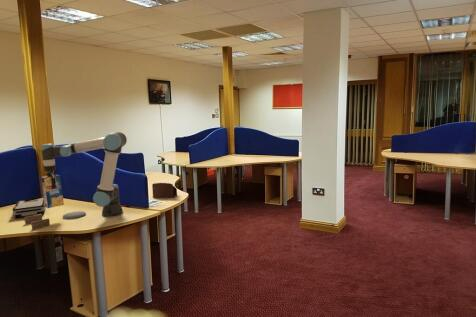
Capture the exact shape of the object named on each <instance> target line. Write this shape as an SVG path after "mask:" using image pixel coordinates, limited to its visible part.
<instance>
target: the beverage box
mask: <svg viewBox="0 0 476 317" xmlns="http://www.w3.org/2000/svg"><path fill="white" fill-rule="evenodd" d="M54 175H55V181H56V188H52V183H51V177H47V176H46V175H45V176H41V177H40V179H41V186H42V194H43V198H44V203H45V207H46V208H47V209H50V208H56V207H60V206H64V205H65V203H64V196H63V188H62V178H61V175H59V174H54Z"/></svg>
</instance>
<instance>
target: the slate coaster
mask: <svg viewBox="0 0 476 317" xmlns="http://www.w3.org/2000/svg"><path fill="white" fill-rule="evenodd" d="M86 215H87V213H86V212H85V211H81V210H80V211H72V212H68V213H65V214H63V215H62V219H64V220H73V219H74V220H76V219H80V218H83V217H85V216H86Z"/></svg>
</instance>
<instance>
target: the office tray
mask: <svg viewBox="0 0 476 317" xmlns="http://www.w3.org/2000/svg"><path fill="white" fill-rule="evenodd" d="M46 208H47V207H45V203H44V197H42V198H38V199H37V200H36V199H35V200H28V201H25V200H19V201H17V202H16V204H15V205H14V206H13V207H12V215H13V216H14V217H15V219H21V217H22V218H24V217H28V216H33V215H38V214H42V216H43V215H45V211H46Z"/></svg>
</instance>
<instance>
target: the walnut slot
mask: <svg viewBox="0 0 476 317" xmlns="http://www.w3.org/2000/svg"><path fill="white" fill-rule="evenodd" d="M23 218H24V224H25V225H29V224H31V230H38V229H41V228H44V227H45V228H46V227H49V226H51V224H50V222H51V220H50V218H44V219H43V215H42V214H38V215H35V214H34V215H27V216H25V217H23Z"/></svg>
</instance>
